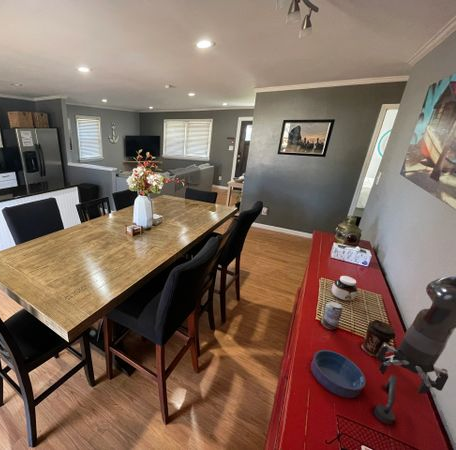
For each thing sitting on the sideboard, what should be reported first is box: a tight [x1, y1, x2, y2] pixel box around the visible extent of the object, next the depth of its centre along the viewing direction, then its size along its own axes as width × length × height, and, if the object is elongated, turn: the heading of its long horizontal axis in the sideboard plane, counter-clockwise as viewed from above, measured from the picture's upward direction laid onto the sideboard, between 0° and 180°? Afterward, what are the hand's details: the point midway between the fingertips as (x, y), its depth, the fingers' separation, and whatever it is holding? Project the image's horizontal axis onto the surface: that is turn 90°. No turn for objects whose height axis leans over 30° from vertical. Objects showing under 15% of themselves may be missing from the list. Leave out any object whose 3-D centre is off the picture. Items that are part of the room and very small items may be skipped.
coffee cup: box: [361, 319, 397, 357], centre depth 97 cm, size 9×8×13 cm
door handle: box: [373, 374, 397, 425], centre depth 79 cm, size 15×4×7 cm, turn 134°
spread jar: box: [331, 275, 358, 302], centre depth 130 cm, size 12×11×12 cm
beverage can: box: [320, 301, 343, 330], centre depth 109 cm, size 6×7×12 cm
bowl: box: [310, 349, 366, 399], centre depth 87 cm, size 15×15×5 cm
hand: (400, 381), depth 75 cm, fingers open, 8 cm apart
